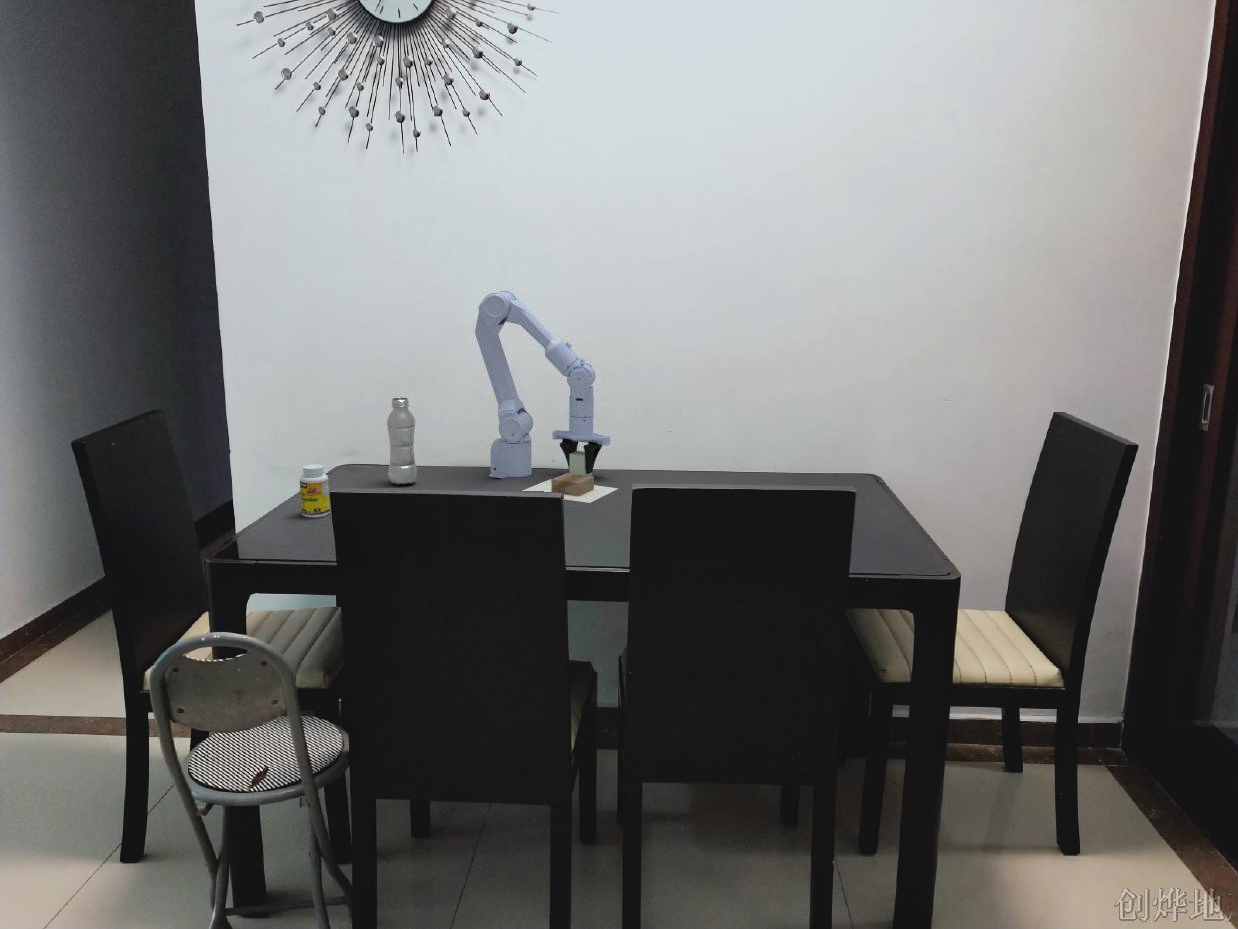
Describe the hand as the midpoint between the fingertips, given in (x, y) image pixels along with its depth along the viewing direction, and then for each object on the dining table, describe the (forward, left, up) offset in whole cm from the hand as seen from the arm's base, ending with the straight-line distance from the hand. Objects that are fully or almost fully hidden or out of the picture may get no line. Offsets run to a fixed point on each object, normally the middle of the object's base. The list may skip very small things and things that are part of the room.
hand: (580, 471), depth 226 cm
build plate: (+4, -13, -2) cm, 14 cm away
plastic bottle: (-34, -24, -2) cm, 42 cm away
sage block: (0, 0, -2) cm, 2 cm away
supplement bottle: (-33, -53, -2) cm, 62 cm away
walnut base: (+5, -13, -1) cm, 14 cm away
